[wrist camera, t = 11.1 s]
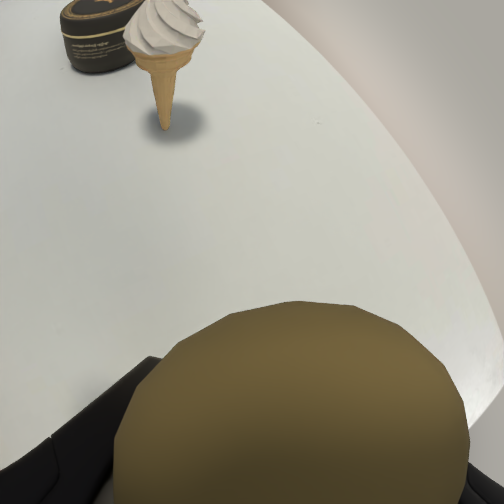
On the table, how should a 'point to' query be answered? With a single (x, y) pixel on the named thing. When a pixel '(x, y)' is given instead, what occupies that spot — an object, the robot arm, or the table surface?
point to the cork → (294, 415)
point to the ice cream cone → (163, 45)
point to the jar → (97, 33)
